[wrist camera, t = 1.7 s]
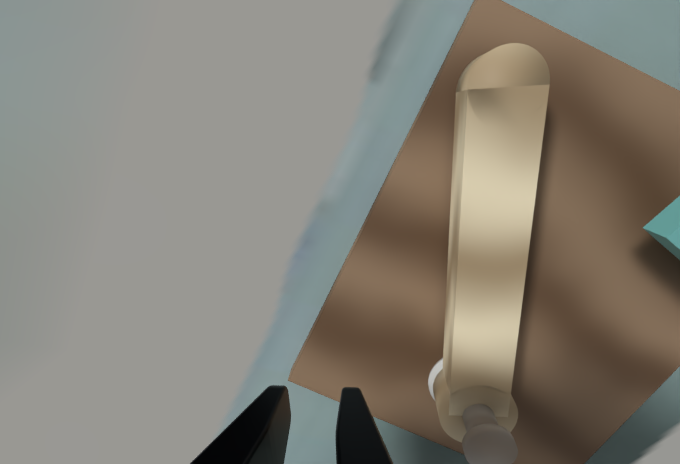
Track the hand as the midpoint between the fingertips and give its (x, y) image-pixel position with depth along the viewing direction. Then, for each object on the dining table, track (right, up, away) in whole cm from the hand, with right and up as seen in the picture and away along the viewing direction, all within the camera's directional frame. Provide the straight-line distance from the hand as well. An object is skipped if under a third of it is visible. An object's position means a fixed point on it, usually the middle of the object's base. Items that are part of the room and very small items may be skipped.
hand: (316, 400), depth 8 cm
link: (+8, +2, +10) cm, 13 cm away
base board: (+11, +1, +12) cm, 16 cm away
